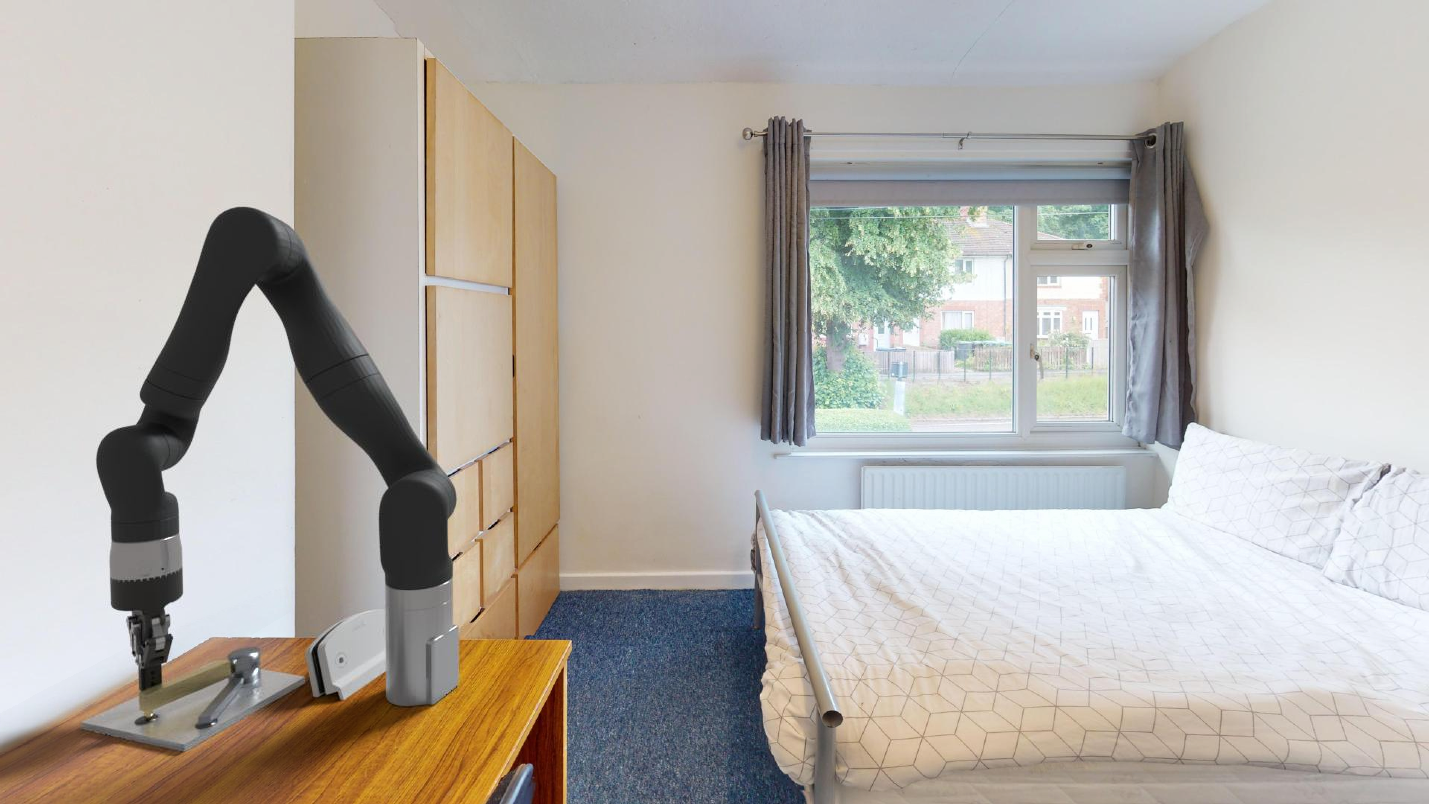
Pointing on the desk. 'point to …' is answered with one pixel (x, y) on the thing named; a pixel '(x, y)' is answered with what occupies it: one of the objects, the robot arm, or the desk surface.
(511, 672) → the desk surface
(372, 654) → the light grey curved piece
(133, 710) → the mounting plate
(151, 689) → the leg
